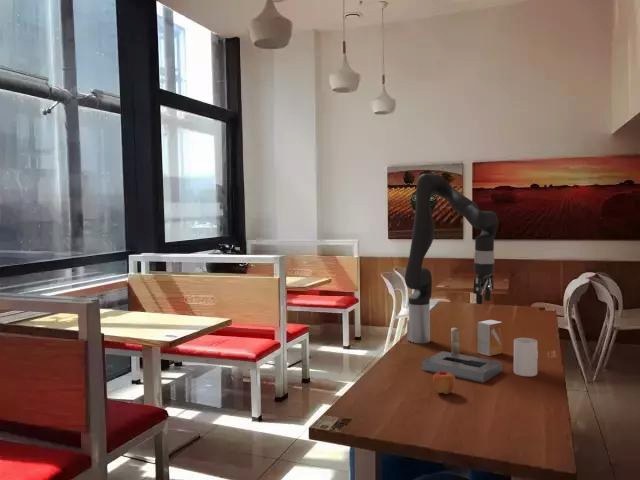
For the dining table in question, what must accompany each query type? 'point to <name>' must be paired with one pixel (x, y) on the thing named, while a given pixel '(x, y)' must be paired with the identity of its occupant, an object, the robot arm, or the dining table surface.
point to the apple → (444, 382)
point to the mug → (525, 356)
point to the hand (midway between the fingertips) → (483, 302)
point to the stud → (455, 340)
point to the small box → (490, 337)
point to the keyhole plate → (463, 366)
